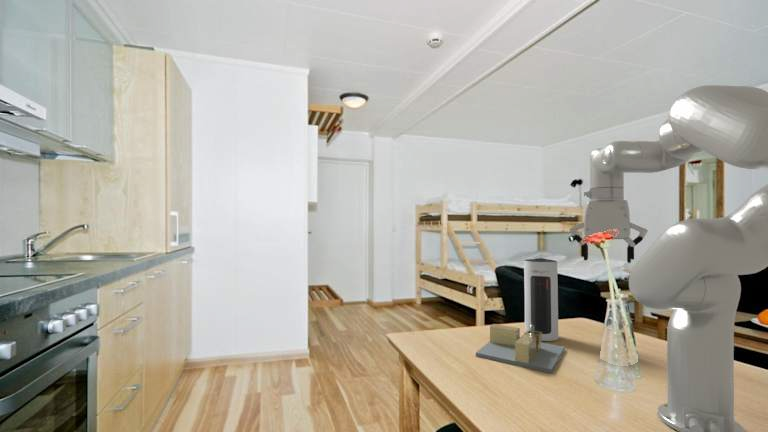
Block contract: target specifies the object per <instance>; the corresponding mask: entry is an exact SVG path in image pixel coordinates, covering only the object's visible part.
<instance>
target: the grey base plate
mask: <svg viewBox="0 0 768 432" xmlns="http://www.w3.org/2000/svg"><path fill="white" fill-rule="evenodd" d="M564 352H565V346H561V345H556V344H551V343H547V342H546V343H545V342H541V349H540V350H539V352H536V356H535V357H534V358H533V359H532V360H531V362H530V363H529V364H527V363H522V362H518V361H515V348H514V347H509V346H504V345H499V344H494V343H490V340H489V341H488V342H486V343H485V344H484V345H483V346H482V347H480V348H479V349H478V350H477V351H476V352H475V357H478V358H483V359H486V360H492V361H497V362H501V363H504V364H505V363H506V364H509V365H513V366H518V367H523V368H527V369H532V370H537V371H539V372H540V371H541V372H545V373H549V374H552V373H553V371H554V370H555V368H556V366H557V364H558V363H559V361H560V359H561V357H562V355H563V353H564Z"/></svg>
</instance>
